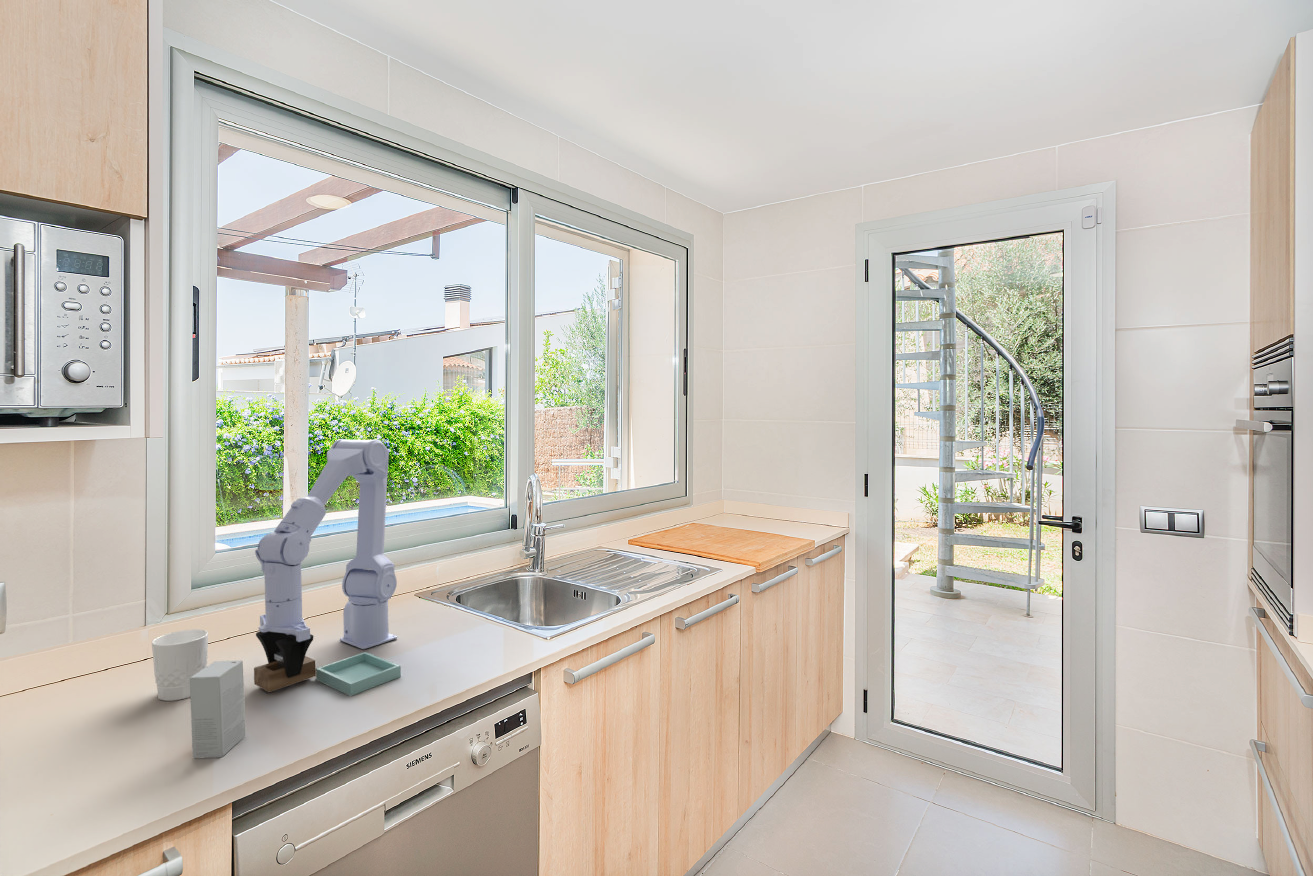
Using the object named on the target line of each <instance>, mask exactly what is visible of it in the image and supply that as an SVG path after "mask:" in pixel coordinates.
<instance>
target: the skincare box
mask: <svg viewBox="0 0 1313 876" xmlns="http://www.w3.org/2000/svg"><path fill="white" fill-rule="evenodd" d="M244 688H245V684H244V662H243V660H215V661H213V662H212V663H211V664H209V665H207V667H206V668H204V669H203V670H201V671H200V672H198V673H197V674H195V675H193V676H192V677H190V697H189V699H190V700H189V701H190V720H191V721H190V723H191V739H192V740H191V741H192V742H191V743H192V745H191V746H192V758H193V759H210V758H211V759H214V758H216V759H217V758H223V757H224V756H225V755H226V754H227V753H228V752H229V751H231V750H232V749H233V748H234V746H236V745H237V744H238V743H239V742H240V741H241V740H243V738H245V737H246V734H247V733H246V716H245V715H246V714H245V713H246V711H245V710H246V709H245V689H244Z"/></svg>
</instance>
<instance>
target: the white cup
mask: <svg viewBox="0 0 1313 876" xmlns="http://www.w3.org/2000/svg"><path fill="white" fill-rule="evenodd" d="M208 647H209V631H207V630H205V629H195V628H194V629H185V630H177V631H174V632H169V633H166V634H163V635H161V636H158V637H155V638H154V639H153V640H152V641H151V648H152V661H153V671H154V678H155V684H156V689H157V690H156V691H157V698H158V700H160V701H166V702H167V701H168V702H170V701H173V702H174V701H178V700H183V699H187V698H190V677H192V676H193V675H195V674H197V673H198V672H200V671H201V670H203V669H204V668H206V667H207V666H208V657H209V656H208Z"/></svg>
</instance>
